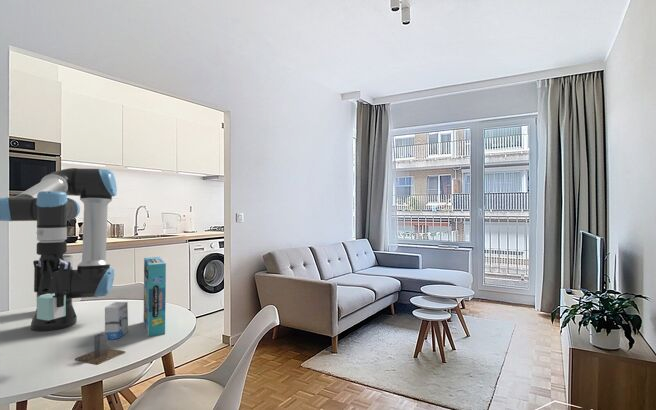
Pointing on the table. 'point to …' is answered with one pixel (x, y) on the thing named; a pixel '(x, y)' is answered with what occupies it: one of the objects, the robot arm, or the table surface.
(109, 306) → the ink box
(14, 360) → the table surface
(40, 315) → the mint foam cube
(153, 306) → the game box
